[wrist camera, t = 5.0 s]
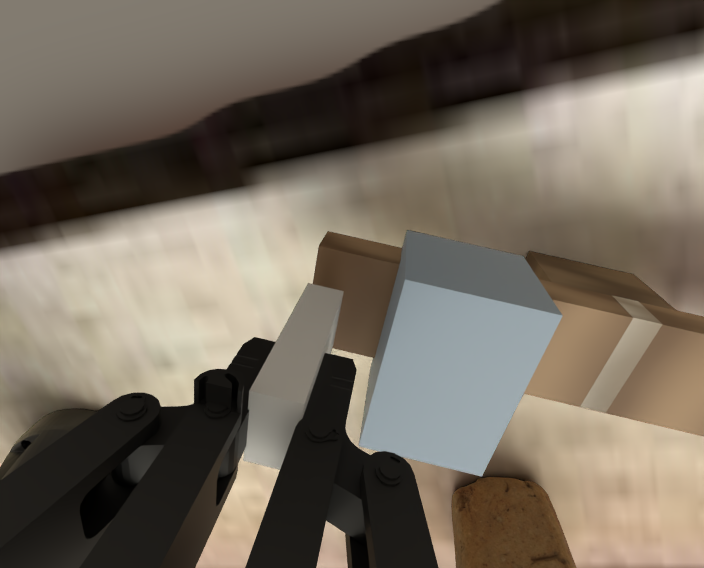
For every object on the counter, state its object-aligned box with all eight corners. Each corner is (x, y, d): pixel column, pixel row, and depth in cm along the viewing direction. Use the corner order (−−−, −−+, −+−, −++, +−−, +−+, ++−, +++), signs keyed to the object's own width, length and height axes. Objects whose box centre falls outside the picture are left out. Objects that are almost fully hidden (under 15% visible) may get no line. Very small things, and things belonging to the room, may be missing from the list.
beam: (330, 279, 26) (286, 381, 17) (344, 203, 23) (301, 274, 14) (774, 383, 25) (981, 550, 16) (834, 313, 22) (1116, 463, 13)
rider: (370, 368, 21) (358, 446, 16) (407, 229, 17) (405, 279, 13) (466, 391, 20) (481, 476, 16) (523, 255, 17) (562, 315, 12)
